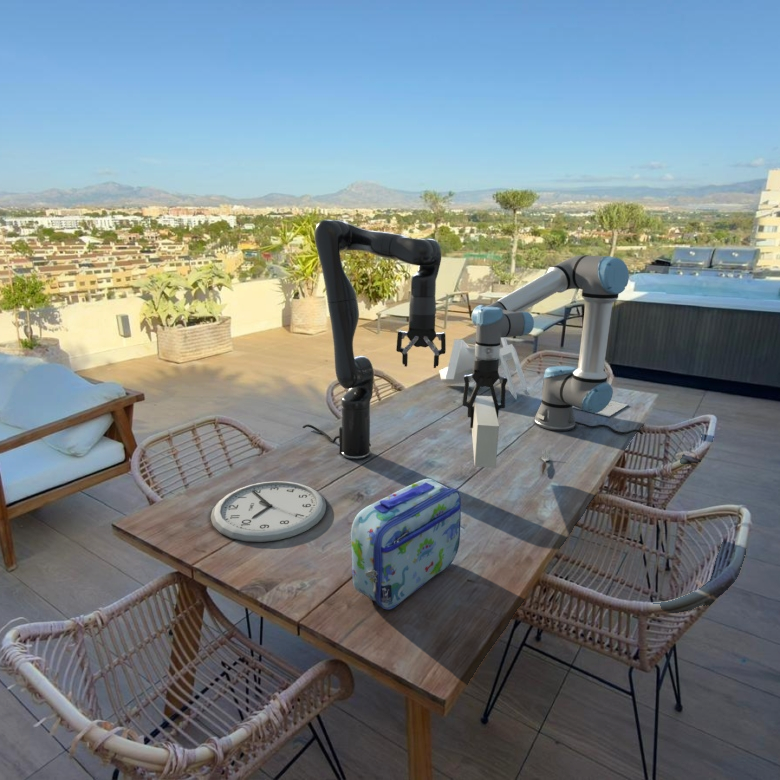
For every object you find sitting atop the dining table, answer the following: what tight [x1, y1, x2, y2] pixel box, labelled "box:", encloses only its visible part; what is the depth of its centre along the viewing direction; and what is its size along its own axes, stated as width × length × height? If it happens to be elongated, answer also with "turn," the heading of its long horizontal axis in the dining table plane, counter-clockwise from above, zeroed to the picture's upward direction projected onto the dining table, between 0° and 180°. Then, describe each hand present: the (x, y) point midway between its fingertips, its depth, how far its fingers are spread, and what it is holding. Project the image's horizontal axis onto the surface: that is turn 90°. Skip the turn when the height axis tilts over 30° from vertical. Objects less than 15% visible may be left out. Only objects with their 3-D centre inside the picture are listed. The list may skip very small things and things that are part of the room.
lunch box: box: [350, 478, 462, 611], centre depth 110 cm, size 26×11×21 cm, turn 135°
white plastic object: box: [438, 337, 531, 400], centre depth 245 cm, size 37×45×31 cm
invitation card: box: [573, 400, 629, 418], centre depth 226 cm, size 21×1×15 cm
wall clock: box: [210, 480, 327, 543], centre depth 140 cm, size 30×2×30 cm
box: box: [471, 395, 500, 469], centre depth 159 cm, size 27×6×13 cm, turn 173°
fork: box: [541, 449, 551, 474], centre depth 169 cm, size 3×16×2 cm, turn 160°
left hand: (420, 366), depth 154 cm, fingers open, 8 cm apart
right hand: (481, 427), depth 169 cm, fingers closed on box, 6 cm apart
